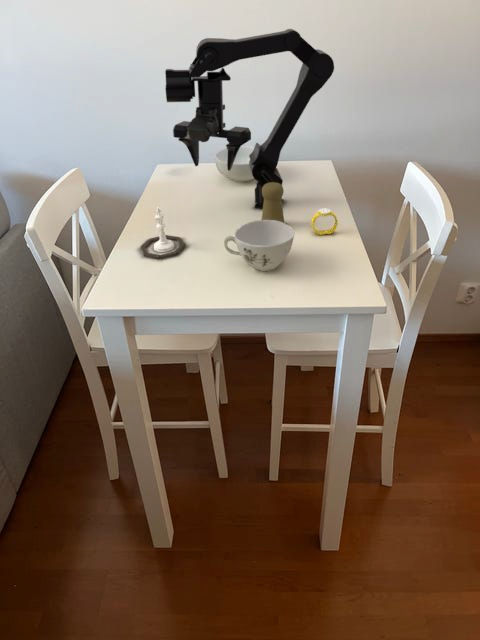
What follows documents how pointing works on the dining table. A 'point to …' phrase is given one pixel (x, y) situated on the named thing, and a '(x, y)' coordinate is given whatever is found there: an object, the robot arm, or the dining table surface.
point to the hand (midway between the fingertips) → (212, 168)
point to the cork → (272, 202)
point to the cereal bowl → (235, 164)
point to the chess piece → (162, 235)
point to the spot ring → (162, 254)
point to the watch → (324, 213)
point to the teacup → (262, 243)
